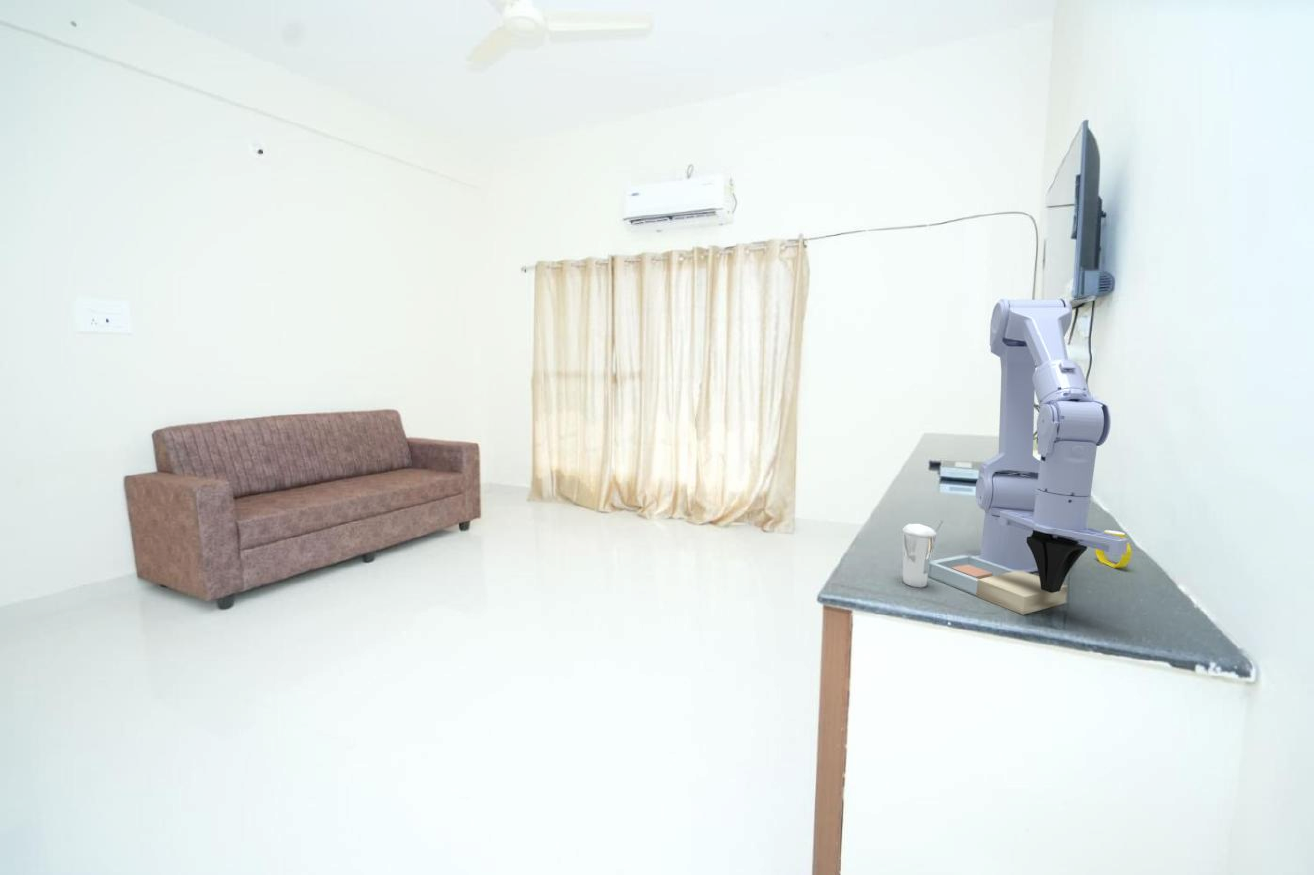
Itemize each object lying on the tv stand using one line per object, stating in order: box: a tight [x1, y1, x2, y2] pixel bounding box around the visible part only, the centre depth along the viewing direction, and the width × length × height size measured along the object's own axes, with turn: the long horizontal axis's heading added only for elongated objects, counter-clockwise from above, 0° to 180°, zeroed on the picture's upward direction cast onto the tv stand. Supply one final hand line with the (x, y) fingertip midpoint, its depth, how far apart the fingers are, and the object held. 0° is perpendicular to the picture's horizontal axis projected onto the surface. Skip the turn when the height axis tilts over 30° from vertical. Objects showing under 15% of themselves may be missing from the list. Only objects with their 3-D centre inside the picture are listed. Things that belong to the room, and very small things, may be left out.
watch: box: [1094, 529, 1132, 569], centre depth 93 cm, size 6×3×6 cm, turn 0°
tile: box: [951, 564, 993, 579], centre depth 84 cm, size 4×4×2 cm
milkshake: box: [902, 520, 944, 588], centre depth 82 cm, size 4×5×10 cm
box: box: [927, 554, 1015, 597], centre depth 84 cm, size 10×8×2 cm
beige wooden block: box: [975, 570, 1069, 616], centre depth 78 cm, size 10×6×2 cm, turn 116°
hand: (1050, 590), depth 74 cm, fingers closed
